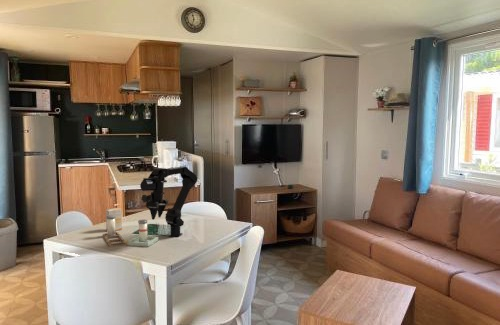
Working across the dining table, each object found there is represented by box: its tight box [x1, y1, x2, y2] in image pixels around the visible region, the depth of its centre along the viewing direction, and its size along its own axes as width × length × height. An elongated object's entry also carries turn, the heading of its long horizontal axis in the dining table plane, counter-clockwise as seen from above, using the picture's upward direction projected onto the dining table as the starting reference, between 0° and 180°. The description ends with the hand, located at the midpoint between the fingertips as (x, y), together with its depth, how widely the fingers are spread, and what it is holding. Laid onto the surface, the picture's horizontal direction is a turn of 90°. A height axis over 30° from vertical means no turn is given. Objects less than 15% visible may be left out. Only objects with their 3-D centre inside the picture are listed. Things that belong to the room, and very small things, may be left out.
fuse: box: [106, 215, 117, 237], centre depth 223 cm, size 5×5×12 cm
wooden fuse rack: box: [102, 231, 129, 247], centre depth 217 cm, size 24×11×1 cm, turn 29°
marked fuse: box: [137, 219, 148, 243], centre depth 210 cm, size 5×5×12 cm
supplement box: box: [105, 207, 123, 231], centre depth 237 cm, size 8×5×13 cm, turn 135°
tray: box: [127, 235, 159, 248], centre depth 210 cm, size 12×12×2 cm
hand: (156, 218), depth 213 cm, fingers open, 9 cm apart
